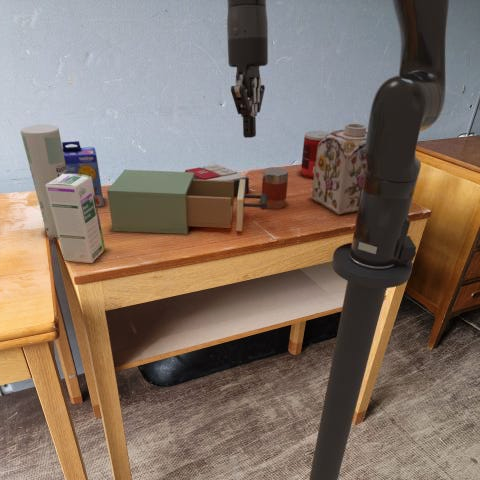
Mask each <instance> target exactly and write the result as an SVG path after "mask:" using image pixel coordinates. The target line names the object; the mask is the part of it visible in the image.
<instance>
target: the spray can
mask: <svg viewBox="0 0 480 480" xmlns="http://www.w3.org/2000/svg"><path fill="white" fill-rule="evenodd" d="M60 133H61V132H60V129H59V127H58V126H56V125H52V124H35V125H29V126H24V127H22V128H20V135H21V139H22V143H23V148H24V151H25V154H26V160H27V163H28V166H29V170H30V174H31V177H32V182H33V186H34V189H35V194H36V197H37V201H38V205H39V210H40V212H41V217H42V221H43V225H44V229H45V231H46V233H47V236H48V237H51V238H57V239H59V237H58V233H57V229H56V226H55V222H54V218H53V214H52V210H51V206H50V202H49V198H48V194H47V190H46V186H45V185H46V184H47V183H49V182H51V181H53V180H54V179H56V178H58V177H59V176H61V175H62V174H67V169H66V164H65V159H64V154H63V147H62V138H61V134H60Z"/></svg>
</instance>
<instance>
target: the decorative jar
mask: <svg viewBox="0 0 480 480" xmlns="http://www.w3.org/2000/svg"><path fill="white" fill-rule="evenodd" d="M367 129H368V126H367V125H366V124H363V123H358V122H349V123H346V124H345V125H344V129H341V130H333V131H331V132H329V133H330V134H329V135H327V136H325V137H324V139H323V140H322V141H321V142H320V143H319V144H318V149H317V156H316V164H315V172H314V179H312V180H313V181H312V189H311V190H312V191H311V199H312V200H313V201H315V202H316V203H318V204H320V205H322V206H323V207H325V208H326V209H328V210H330V211H332V212H334V213H335V214H337V215H339V216H340V215H343V214H348V213H349V214H350V213H354V212H358V208H359V203H360V198H361V193H362V187H363V182H364V177H365V171H366V165H367V163H366V158H365V145H366V138H367Z"/></svg>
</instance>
